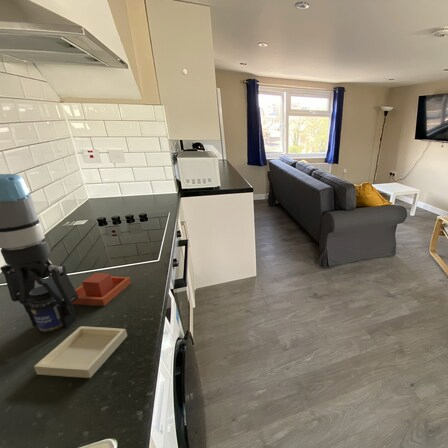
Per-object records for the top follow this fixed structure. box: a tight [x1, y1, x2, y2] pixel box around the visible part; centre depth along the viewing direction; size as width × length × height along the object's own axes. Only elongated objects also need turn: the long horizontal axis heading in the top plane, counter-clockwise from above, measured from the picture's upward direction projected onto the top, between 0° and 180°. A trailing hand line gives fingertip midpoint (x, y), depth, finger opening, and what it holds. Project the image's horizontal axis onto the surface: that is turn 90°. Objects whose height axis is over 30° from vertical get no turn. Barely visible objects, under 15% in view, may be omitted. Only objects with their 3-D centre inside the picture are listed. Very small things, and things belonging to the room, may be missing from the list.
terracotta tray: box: [72, 275, 132, 307], centre depth 81 cm, size 12×12×2 cm
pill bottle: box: [29, 285, 64, 334], centre depth 66 cm, size 6×6×11 cm
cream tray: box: [33, 325, 128, 379], centre depth 59 cm, size 12×12×2 cm
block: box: [81, 272, 114, 297], centre depth 80 cm, size 5×5×5 cm
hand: (55, 322), depth 68 cm, fingers open, 8 cm apart
